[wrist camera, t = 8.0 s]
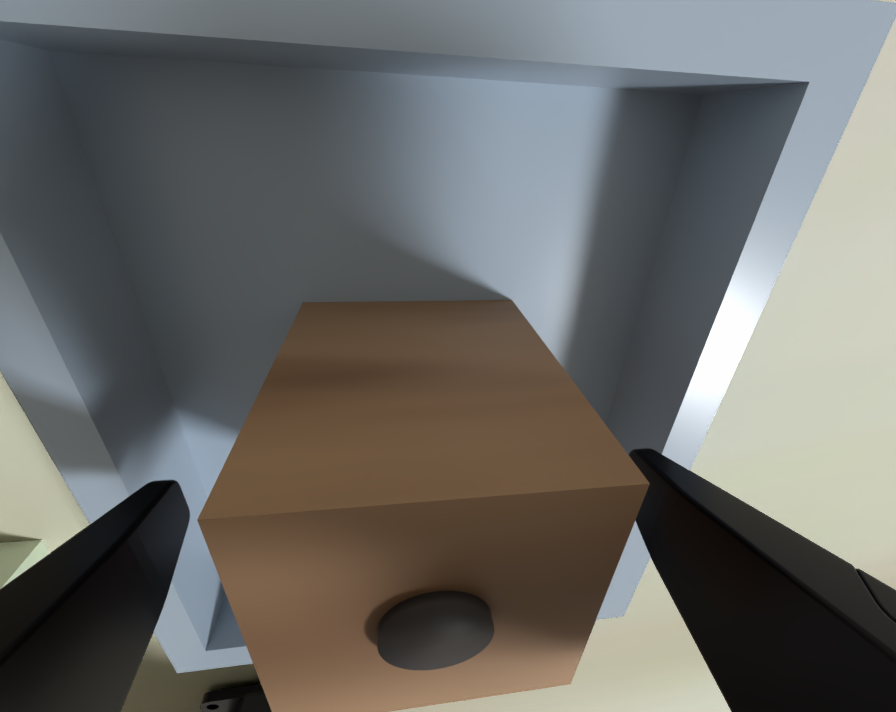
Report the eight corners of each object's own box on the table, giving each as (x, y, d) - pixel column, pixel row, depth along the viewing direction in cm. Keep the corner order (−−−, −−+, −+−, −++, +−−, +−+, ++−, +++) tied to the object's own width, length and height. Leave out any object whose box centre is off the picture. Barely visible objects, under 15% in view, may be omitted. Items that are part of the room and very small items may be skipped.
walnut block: (492, 452, 12) (574, 697, 7) (326, 462, 12) (275, 744, 6) (511, 299, 10) (659, 496, 5) (303, 302, 9) (188, 536, 4)
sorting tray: (585, 538, 16) (623, 616, 14) (215, 574, 14) (177, 673, 12) (742, 43, 8) (902, 3, 6) (-22, -25, 6) (-293, -128, 4)
